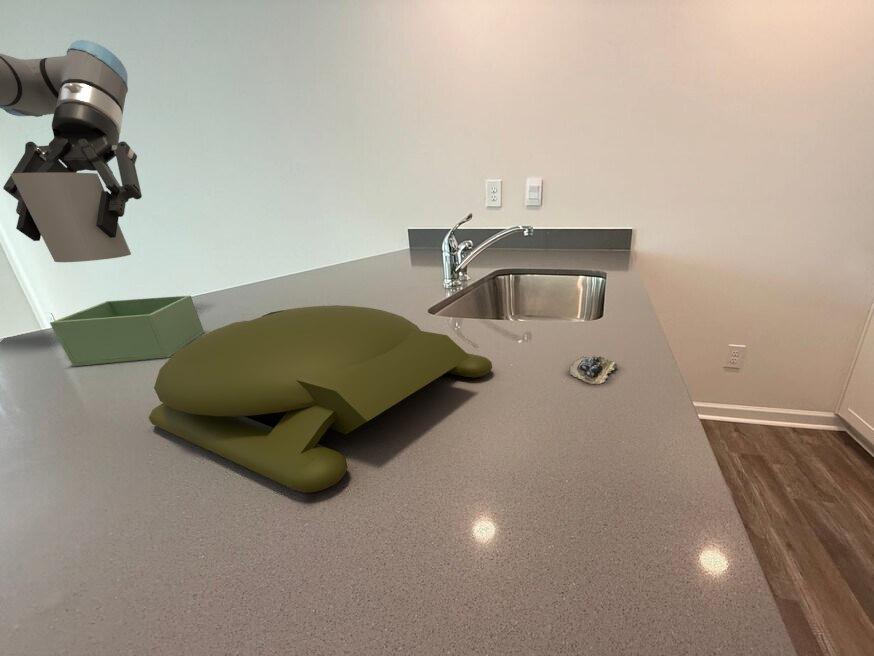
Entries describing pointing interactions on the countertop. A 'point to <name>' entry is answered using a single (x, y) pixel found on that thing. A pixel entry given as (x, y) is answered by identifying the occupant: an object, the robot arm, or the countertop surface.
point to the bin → (128, 330)
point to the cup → (69, 215)
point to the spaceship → (299, 385)
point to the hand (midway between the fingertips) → (67, 233)
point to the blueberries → (592, 369)
